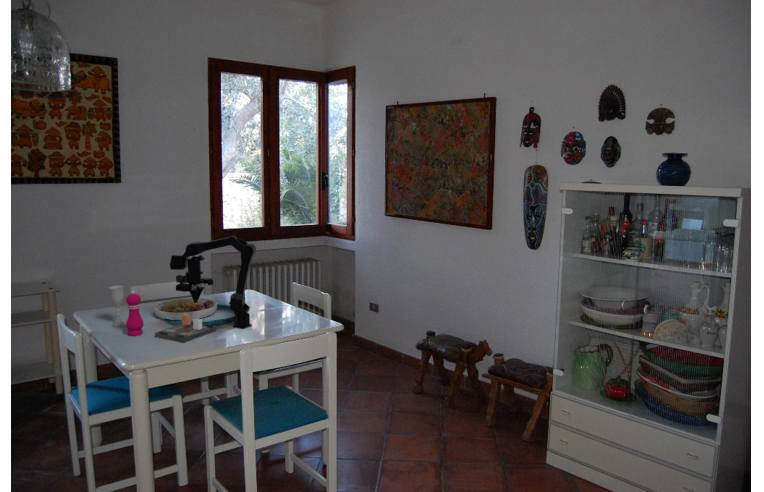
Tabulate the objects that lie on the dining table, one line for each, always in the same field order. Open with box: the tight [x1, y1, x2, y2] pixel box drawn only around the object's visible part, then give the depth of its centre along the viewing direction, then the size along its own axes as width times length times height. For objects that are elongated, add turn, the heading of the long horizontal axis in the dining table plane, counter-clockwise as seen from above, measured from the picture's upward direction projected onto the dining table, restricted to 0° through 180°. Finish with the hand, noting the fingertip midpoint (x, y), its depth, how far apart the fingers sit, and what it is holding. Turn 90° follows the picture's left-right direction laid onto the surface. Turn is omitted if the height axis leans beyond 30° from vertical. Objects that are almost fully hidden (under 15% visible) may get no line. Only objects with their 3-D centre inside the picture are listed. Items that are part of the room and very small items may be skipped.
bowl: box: [153, 297, 218, 320], centre depth 295 cm, size 30×30×8 cm
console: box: [154, 320, 217, 344], centre depth 262 cm, size 17×20×3 cm
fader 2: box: [192, 318, 203, 330], centre depth 261 cm, size 3×2×4 cm
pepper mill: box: [125, 290, 145, 337], centre depth 260 cm, size 7×7×20 cm
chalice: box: [108, 285, 125, 327], centre depth 274 cm, size 7×7×18 cm
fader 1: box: [181, 314, 192, 325], centre depth 268 cm, size 3×2×4 cm
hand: (195, 302), depth 272 cm, fingers closed
